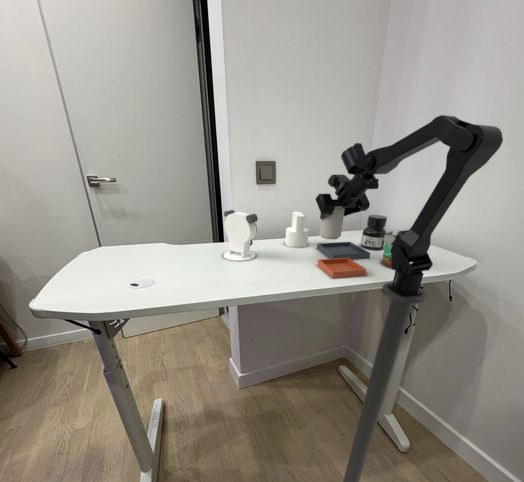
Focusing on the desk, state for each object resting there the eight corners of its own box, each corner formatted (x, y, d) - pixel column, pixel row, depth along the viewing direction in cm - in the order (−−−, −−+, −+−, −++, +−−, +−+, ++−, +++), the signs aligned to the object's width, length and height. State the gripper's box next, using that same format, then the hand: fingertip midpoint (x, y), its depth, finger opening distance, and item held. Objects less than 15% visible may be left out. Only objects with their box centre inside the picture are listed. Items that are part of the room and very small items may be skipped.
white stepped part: (283, 241, 121) (285, 211, 116) (304, 240, 122) (307, 211, 117) (287, 247, 114) (289, 216, 108) (309, 247, 114) (312, 216, 109)
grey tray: (369, 258, 105) (370, 252, 104) (333, 260, 101) (334, 255, 100) (349, 246, 117) (350, 241, 116) (316, 248, 113) (317, 243, 113)
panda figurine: (263, 254, 105) (264, 212, 98) (244, 263, 97) (244, 217, 90) (236, 248, 111) (236, 208, 104) (217, 256, 102) (214, 212, 95)
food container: (370, 259, 103) (376, 231, 98) (385, 258, 105) (391, 230, 100) (394, 272, 93) (402, 241, 88) (410, 270, 94) (418, 240, 90)
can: (316, 238, 102) (319, 202, 97) (323, 233, 108) (326, 199, 102) (337, 241, 99) (342, 204, 93) (342, 236, 105) (348, 201, 99)
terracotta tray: (365, 275, 90) (366, 269, 89) (332, 278, 87) (333, 272, 86) (347, 263, 99) (348, 257, 98) (317, 265, 97) (317, 259, 96)
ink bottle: (355, 246, 117) (360, 216, 111) (364, 242, 123) (370, 213, 117) (378, 252, 111) (385, 220, 106) (387, 247, 117) (394, 217, 111)
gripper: (370, 165, 93) (342, 197, 107) (322, 165, 86) (299, 199, 100) (383, 194, 90) (353, 223, 104) (335, 196, 83) (310, 227, 97)
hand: (329, 217), depth 101 cm, fingers closed on can, 7 cm apart
